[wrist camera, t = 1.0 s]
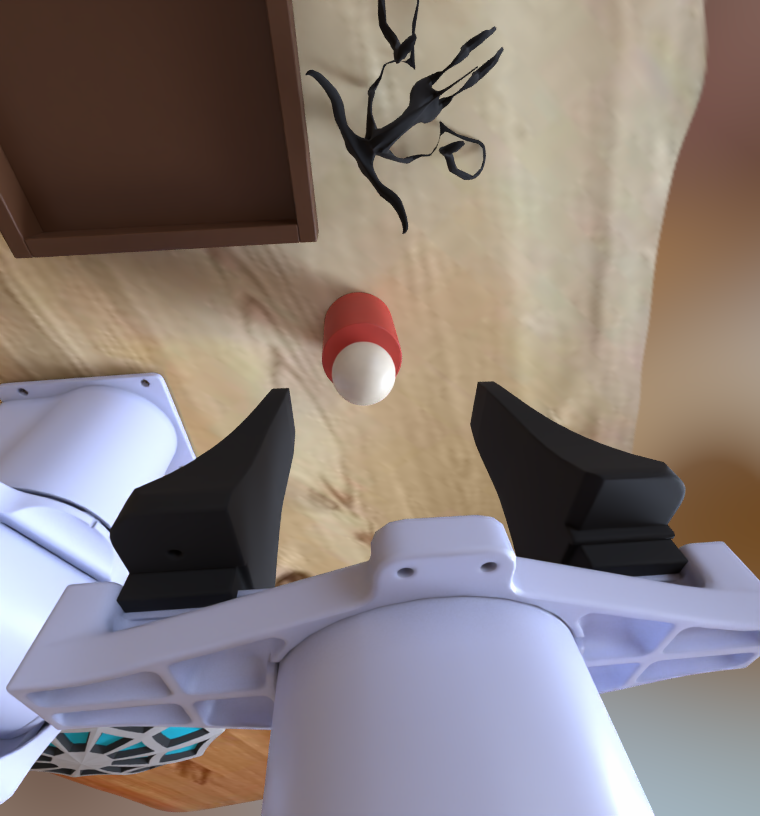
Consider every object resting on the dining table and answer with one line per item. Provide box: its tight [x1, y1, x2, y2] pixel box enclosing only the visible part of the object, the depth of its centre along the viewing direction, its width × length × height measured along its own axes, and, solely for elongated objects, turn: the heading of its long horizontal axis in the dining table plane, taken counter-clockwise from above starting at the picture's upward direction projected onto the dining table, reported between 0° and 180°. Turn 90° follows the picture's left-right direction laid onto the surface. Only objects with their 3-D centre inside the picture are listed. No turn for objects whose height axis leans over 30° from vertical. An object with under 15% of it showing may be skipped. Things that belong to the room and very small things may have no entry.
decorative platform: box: [29, 726, 225, 777], centre depth 48 cm, size 31×29×5 cm
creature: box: [306, 0, 504, 234], centre depth 16 cm, size 8×5×8 cm
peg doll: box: [322, 292, 402, 405], centre depth 20 cm, size 4×4×7 cm
